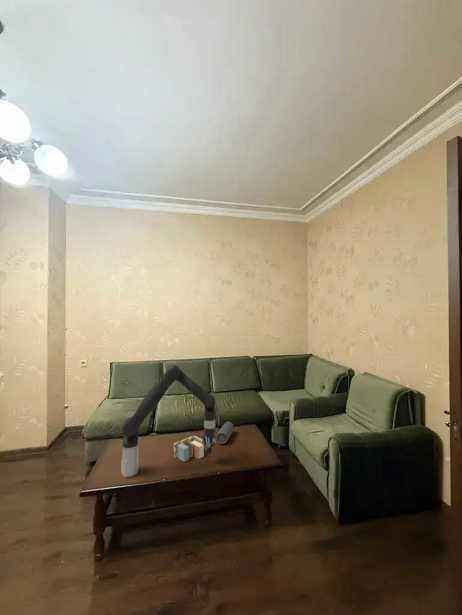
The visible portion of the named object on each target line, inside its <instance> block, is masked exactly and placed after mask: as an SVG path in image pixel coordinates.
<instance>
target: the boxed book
mask: <svg viewBox="0 0 462 615" xmlns="http://www.w3.org/2000/svg"><path fill="white" fill-rule="evenodd" d="M191 443H193V457H194V458H196V459H198V460H200V459H202V458H204V457H205V454H204V453H205V451H204V450H205V448H204V446H205V444H204V443H203V444H201V443H199V442H197V441H193V442H191Z"/></svg>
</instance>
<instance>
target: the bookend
mask: <svg viewBox="0 0 462 615" xmlns="http://www.w3.org/2000/svg"><path fill="white" fill-rule="evenodd" d="M186 446H188V447H189V459H190V458H193V457H194V456H193V443H191V442H189V441H186Z"/></svg>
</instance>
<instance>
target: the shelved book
mask: <svg viewBox="0 0 462 615" xmlns="http://www.w3.org/2000/svg"><path fill="white" fill-rule="evenodd" d="M176 459H178V460H180V461H182V462H183V463H185V462H187V461H189V460H190V458H189V447H188V446H186V445H184V444H183V443H182V444H179V445H177V458H176Z"/></svg>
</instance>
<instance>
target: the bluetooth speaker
mask: <svg viewBox="0 0 462 615" xmlns="http://www.w3.org/2000/svg"><path fill="white" fill-rule="evenodd" d="M234 428H235V427H234V424H233V423H232V422H231V421H226V422H224V424H223V425H222V426H221V428H220V429H219V430H218V433H217V434H216V440H217V443H219V444H221V445H223V444H226V443H227V442H228V440H229V439H230V437H231V436H232V434H233V431H234Z"/></svg>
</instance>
